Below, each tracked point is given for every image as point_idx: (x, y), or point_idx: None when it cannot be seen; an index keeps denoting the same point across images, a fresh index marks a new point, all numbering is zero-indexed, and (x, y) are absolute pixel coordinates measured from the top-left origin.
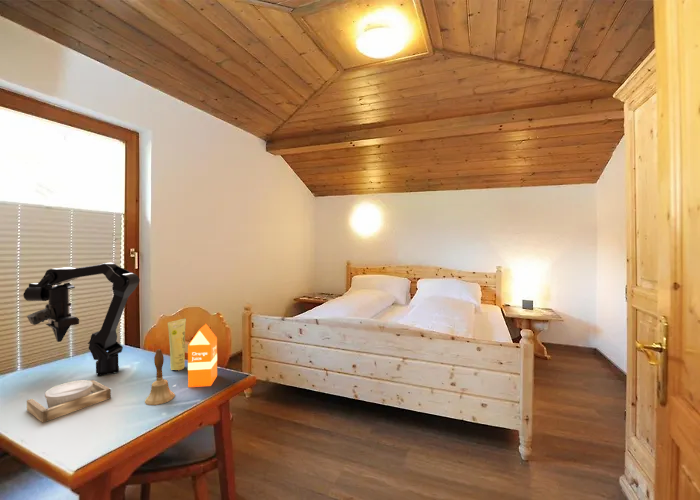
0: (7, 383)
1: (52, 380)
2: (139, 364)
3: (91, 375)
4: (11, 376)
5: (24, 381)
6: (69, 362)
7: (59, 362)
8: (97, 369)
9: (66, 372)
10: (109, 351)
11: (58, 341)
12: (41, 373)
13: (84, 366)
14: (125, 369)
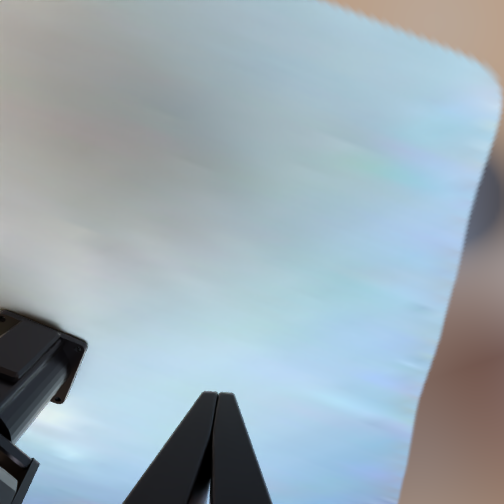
0: (333, 17)
1: (139, 180)
2: (33, 445)
3: (50, 303)
4: (453, 87)
5: (270, 91)
6: (368, 339)
7: (422, 318)
8: (5, 335)
9: (212, 268)
10: (10, 467)
11: (203, 398)
12: (326, 200)
13: (227, 343)
14: None
